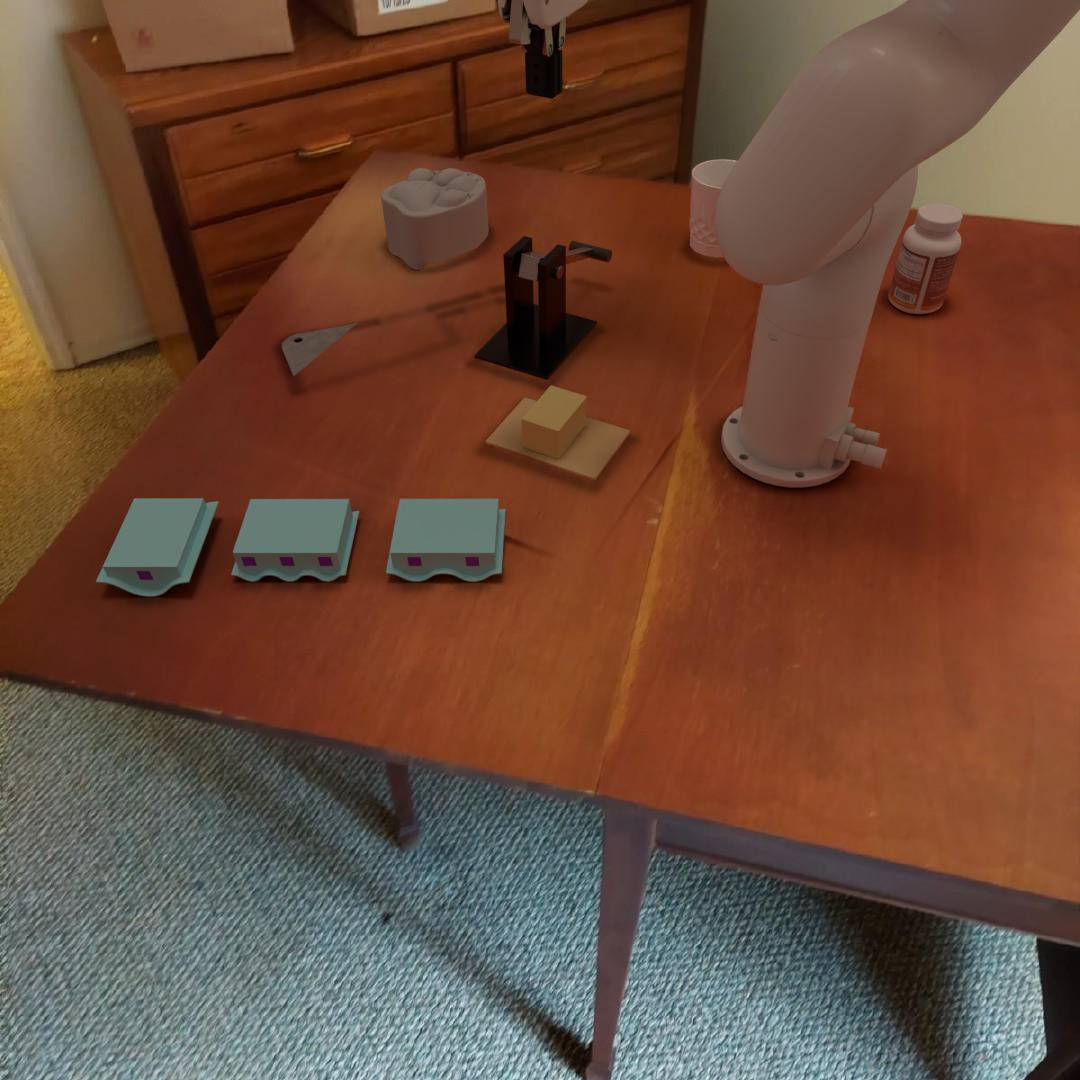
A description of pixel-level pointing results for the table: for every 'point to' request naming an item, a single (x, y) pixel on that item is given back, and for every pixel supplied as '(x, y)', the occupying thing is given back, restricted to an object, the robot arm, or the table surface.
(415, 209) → the lumpy-topped squat cylinder
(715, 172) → the white cup
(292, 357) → the cleaver
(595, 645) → the table surface
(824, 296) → the robot arm
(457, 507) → the corrugated panels
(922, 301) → the pill bottle
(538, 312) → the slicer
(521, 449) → the board
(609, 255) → the lever
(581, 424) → the butter
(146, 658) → the table surface
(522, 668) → the table surface
